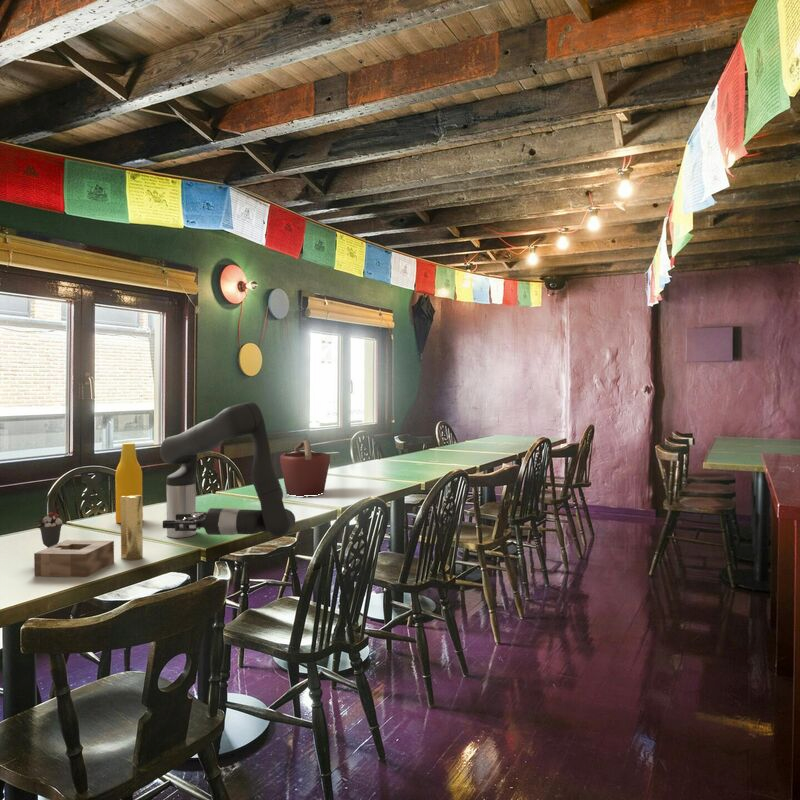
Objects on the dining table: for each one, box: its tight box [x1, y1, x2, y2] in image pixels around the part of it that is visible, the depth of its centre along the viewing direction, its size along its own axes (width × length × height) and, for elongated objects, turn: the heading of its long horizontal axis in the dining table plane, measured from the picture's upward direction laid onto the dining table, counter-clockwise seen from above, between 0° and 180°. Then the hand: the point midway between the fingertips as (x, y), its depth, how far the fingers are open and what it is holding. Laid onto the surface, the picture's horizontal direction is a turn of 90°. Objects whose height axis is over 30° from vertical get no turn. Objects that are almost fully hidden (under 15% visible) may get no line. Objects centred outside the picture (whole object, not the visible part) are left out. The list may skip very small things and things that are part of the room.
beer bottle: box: [114, 442, 144, 524], centre depth 226 cm, size 9×9×29 cm
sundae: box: [36, 506, 64, 548], centre depth 177 cm, size 7×7×15 cm
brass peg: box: [120, 495, 144, 561], centre depth 178 cm, size 4×6×18 cm
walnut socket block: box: [33, 539, 115, 578], centre depth 168 cm, size 14×14×6 cm
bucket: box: [279, 439, 331, 496], centre depth 284 cm, size 24×22×25 cm
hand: (169, 520), depth 177 cm, fingers open, 8 cm apart
